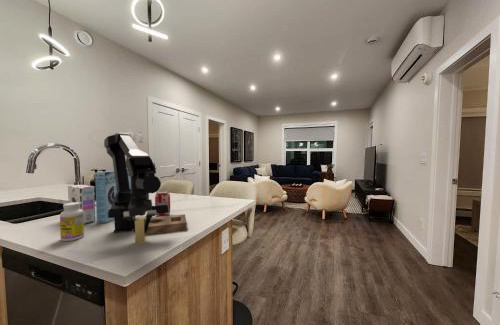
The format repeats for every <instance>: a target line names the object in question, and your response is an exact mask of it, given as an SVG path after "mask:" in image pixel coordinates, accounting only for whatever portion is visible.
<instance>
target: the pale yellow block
mask: <svg viewBox="0 0 500 325" xmlns="http://www.w3.org/2000/svg"><path fill="white" fill-rule="evenodd" d="M145 223H146V215H143V216H136V220H135V233H134V235H135V237H134V239H135V244H136V245H137V244H144V242H146V240H147V235H146V233H145Z"/></svg>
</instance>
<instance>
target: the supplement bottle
mask: <svg viewBox="0 0 500 325" xmlns="http://www.w3.org/2000/svg"><path fill="white" fill-rule="evenodd" d="M62 207H63V211H61V213H60V214H59V221H60V222H59V227H60V229H59V231H60V240H61V241H63V242H72V241H76V240H79V239H81V238H83V237H84V235H85V227H84V226H85V224H84V218H83V210H81V209H79V207H80V203H79V202H73V203H69V202H67V203H63V205H62Z"/></svg>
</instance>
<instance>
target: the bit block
mask: <svg viewBox="0 0 500 325" xmlns="http://www.w3.org/2000/svg"><path fill="white" fill-rule="evenodd" d="M187 230H188V228H187V218H186V214H176V215H173V214H172V215H168V216H161V217H158V216H152V218H151V220H150V222H149V226H148V229H147V232H146V236H147V235H153V234H154V235H155V234H164V233H172V232H179V231H187Z"/></svg>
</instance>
